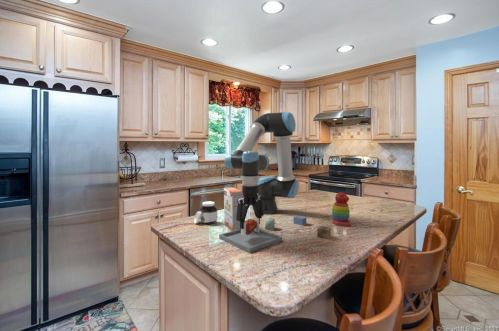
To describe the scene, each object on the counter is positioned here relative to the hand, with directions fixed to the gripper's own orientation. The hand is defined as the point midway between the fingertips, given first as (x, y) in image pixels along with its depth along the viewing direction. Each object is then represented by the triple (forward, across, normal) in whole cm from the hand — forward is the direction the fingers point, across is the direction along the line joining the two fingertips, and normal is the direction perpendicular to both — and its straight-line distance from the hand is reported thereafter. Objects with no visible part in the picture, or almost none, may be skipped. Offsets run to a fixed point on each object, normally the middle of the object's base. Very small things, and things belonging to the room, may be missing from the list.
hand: (250, 233), depth 123 cm
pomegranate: (+1, 0, 0) cm, 1 cm away
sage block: (+3, +19, +6) cm, 20 cm away
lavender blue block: (+3, +38, +1) cm, 38 cm away
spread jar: (+3, -2, +37) cm, 37 cm away
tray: (+3, 0, 0) cm, 3 cm away
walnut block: (+3, +30, -20) cm, 36 cm away
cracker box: (+3, +5, +20) cm, 21 cm away
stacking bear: (+3, +56, -14) cm, 58 cm away
